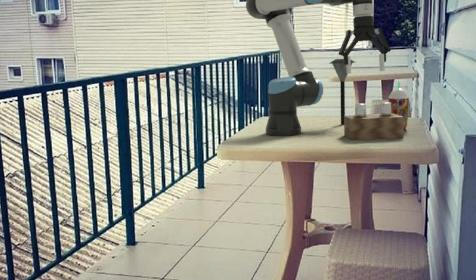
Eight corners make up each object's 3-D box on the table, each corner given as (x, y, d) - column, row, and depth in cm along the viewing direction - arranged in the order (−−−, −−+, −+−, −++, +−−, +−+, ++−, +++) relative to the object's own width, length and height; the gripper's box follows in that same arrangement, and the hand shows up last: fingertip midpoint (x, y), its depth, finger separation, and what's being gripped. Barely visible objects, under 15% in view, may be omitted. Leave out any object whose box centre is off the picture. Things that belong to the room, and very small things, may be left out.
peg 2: (382, 123, 205) (382, 103, 204) (379, 122, 209) (379, 102, 208) (392, 122, 206) (392, 103, 204) (389, 121, 209) (389, 102, 208)
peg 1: (356, 124, 205) (356, 104, 204) (354, 123, 209) (354, 103, 208) (367, 124, 205) (367, 104, 204) (364, 122, 209) (364, 103, 208)
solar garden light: (357, 126, 238) (356, 58, 233) (329, 126, 239) (328, 59, 235) (355, 122, 249) (355, 58, 245) (329, 123, 251) (328, 59, 247)
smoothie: (409, 131, 218) (410, 82, 214) (388, 131, 219) (389, 82, 216) (407, 128, 226) (408, 81, 222) (387, 128, 227) (387, 81, 224)
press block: (352, 140, 202) (351, 119, 200) (344, 135, 214) (344, 115, 212) (403, 137, 203) (403, 116, 201) (393, 133, 214) (393, 113, 213)
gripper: (335, 17, 197) (338, 74, 199) (398, 13, 200) (400, 69, 203) (328, 19, 204) (331, 74, 206) (389, 15, 208) (391, 70, 210)
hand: (365, 72), depth 205 cm, fingers open, 13 cm apart
